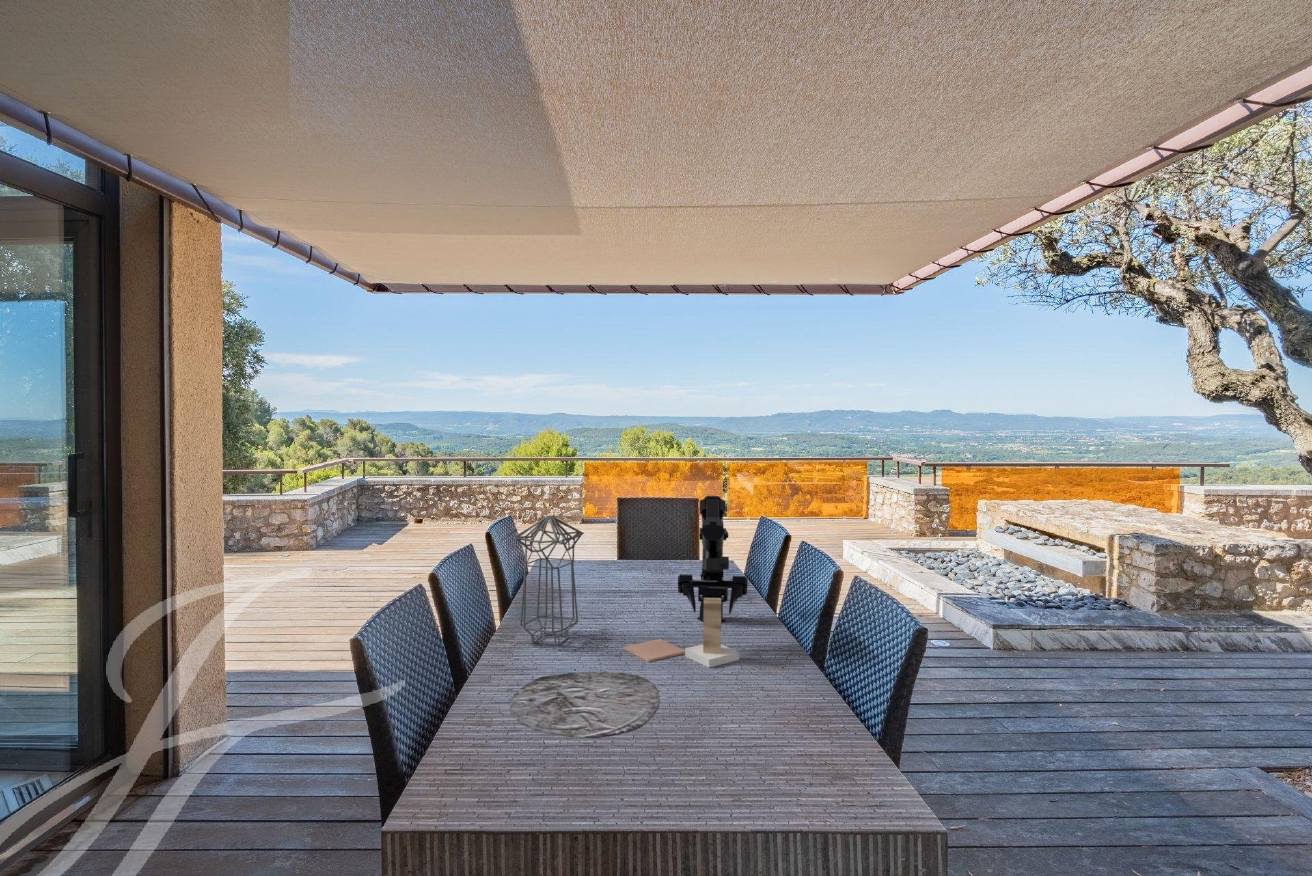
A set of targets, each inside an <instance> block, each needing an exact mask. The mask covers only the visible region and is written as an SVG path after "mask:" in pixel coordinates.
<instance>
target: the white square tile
mask: <svg viewBox="0 0 1312 876" xmlns="http://www.w3.org/2000/svg"><path fill="white" fill-rule="evenodd" d="M684 650H685V654H684V656H685V657H686V658H688V659H691V660H693V661H695V662H697V663H699V664H701V665H703V666H705V667H707V668H712V667H717V666H720V665H725V664H729V663H733V662H735V661H740V651H738V650H736V649H733V648H731V647H729V646H726V645H724V644H722V643H721V653H703V644H699V645H695V646H690V647H686V648H684Z"/></svg>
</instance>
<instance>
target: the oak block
mask: <svg viewBox="0 0 1312 876" xmlns="http://www.w3.org/2000/svg"><path fill="white" fill-rule="evenodd" d="M702 632H703V640H702V642H703V653H721V644H722V622H721V598H704V621H703V631H702Z"/></svg>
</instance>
